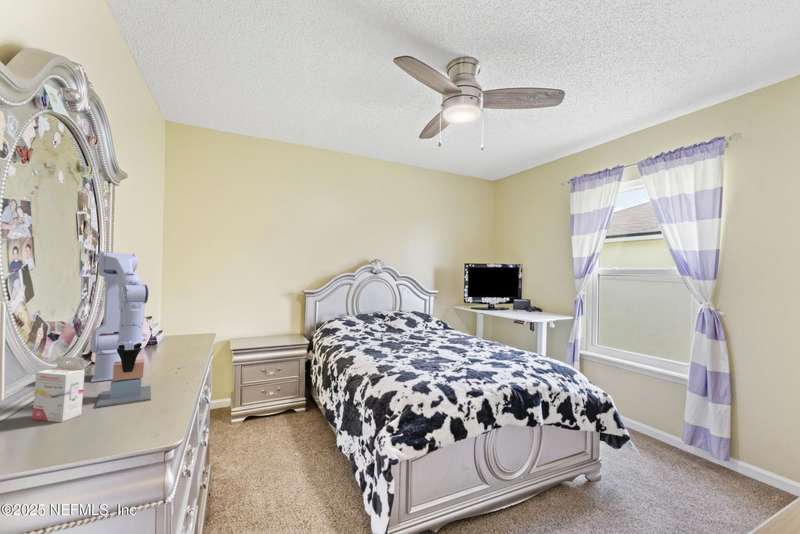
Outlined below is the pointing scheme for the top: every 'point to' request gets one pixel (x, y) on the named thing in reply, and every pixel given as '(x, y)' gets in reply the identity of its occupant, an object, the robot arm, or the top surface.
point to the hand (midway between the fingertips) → (128, 370)
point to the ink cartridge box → (59, 391)
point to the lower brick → (125, 388)
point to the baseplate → (123, 398)
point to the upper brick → (135, 373)
